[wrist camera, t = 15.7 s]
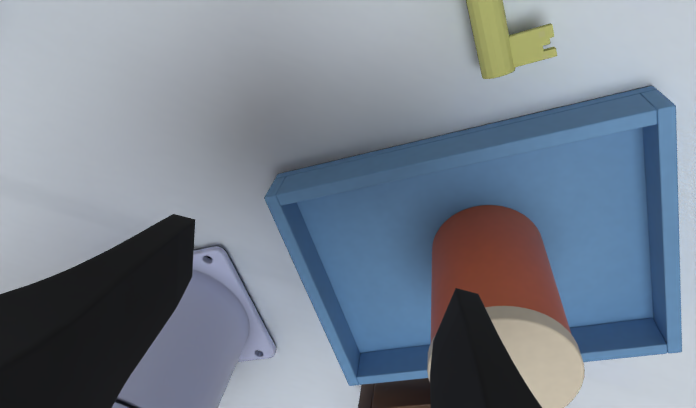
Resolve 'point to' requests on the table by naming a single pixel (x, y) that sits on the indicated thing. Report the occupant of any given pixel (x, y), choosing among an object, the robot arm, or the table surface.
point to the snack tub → (509, 295)
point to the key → (505, 40)
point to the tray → (502, 190)
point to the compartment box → (396, 394)
